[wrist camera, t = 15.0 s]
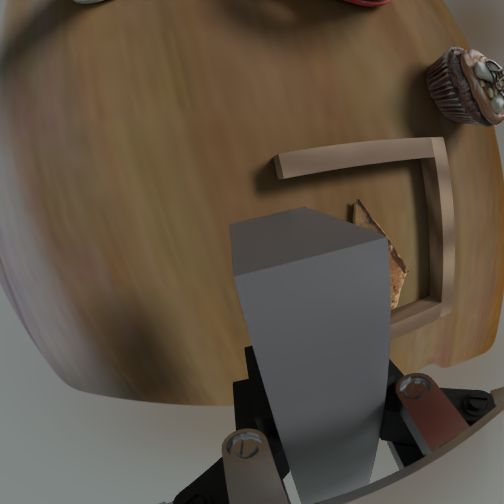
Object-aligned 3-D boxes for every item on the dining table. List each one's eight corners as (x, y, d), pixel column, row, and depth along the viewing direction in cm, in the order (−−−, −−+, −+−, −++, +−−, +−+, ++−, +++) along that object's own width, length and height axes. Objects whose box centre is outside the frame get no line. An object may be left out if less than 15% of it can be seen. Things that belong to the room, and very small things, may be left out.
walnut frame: (272, 157, 23) (278, 153, 20) (428, 139, 24) (443, 137, 21) (309, 353, 28) (316, 366, 25) (439, 304, 28) (451, 312, 26)
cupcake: (478, 107, 23) (531, 98, 13) (453, 143, 24) (516, 139, 14) (439, 48, 21) (489, 25, 11) (407, 76, 22) (467, 49, 12)
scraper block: (229, 224, 11) (233, 277, 5) (304, 206, 11) (387, 237, 5) (283, 427, 14) (304, 511, 8) (332, 413, 14) (366, 491, 8)
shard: (350, 197, 25) (359, 198, 23) (411, 207, 26) (421, 208, 24) (336, 305, 27) (342, 312, 25) (394, 302, 28) (403, 309, 26)
